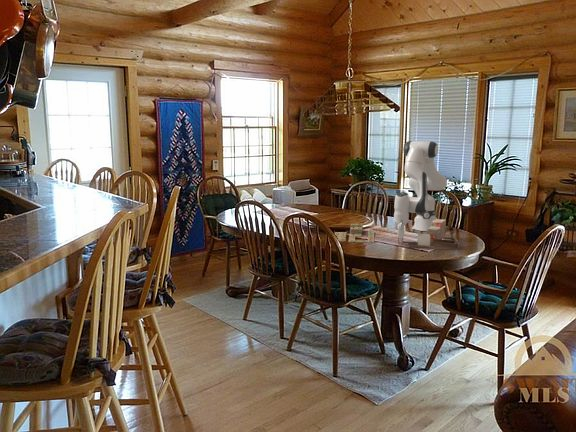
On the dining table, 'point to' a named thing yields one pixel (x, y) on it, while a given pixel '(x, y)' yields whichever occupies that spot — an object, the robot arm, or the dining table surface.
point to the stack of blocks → (437, 229)
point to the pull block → (419, 240)
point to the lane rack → (438, 245)
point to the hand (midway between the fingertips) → (400, 241)
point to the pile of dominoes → (355, 234)
